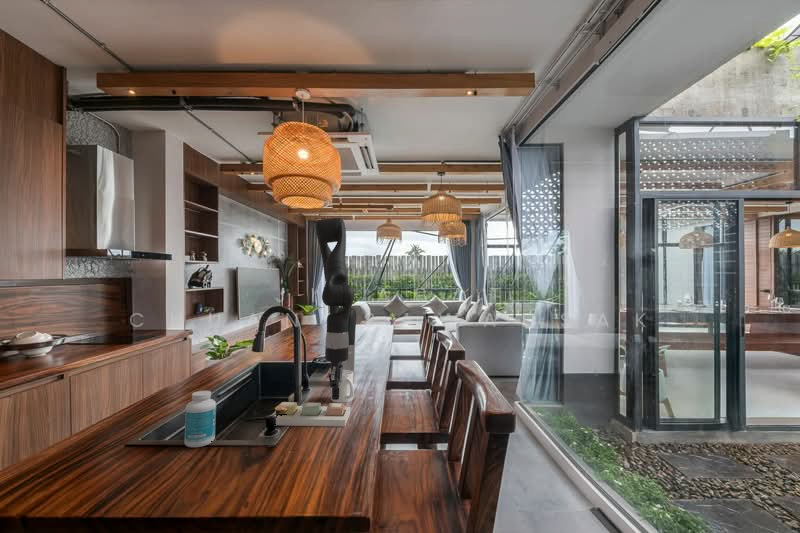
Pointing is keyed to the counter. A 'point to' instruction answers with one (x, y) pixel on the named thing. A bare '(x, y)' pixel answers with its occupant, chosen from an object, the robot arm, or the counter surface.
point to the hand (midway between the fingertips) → (335, 399)
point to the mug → (345, 388)
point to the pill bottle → (200, 420)
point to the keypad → (313, 418)
